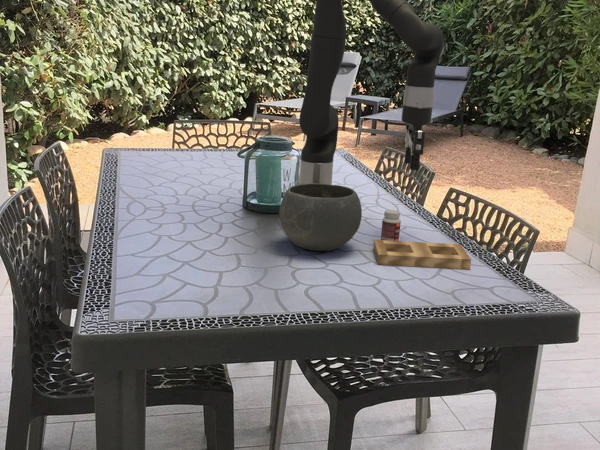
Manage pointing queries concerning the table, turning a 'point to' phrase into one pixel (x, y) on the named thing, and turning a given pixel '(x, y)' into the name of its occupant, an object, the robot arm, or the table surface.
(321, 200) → the bowl
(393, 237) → the pill bottle
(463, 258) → the holder block
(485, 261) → the table surface
